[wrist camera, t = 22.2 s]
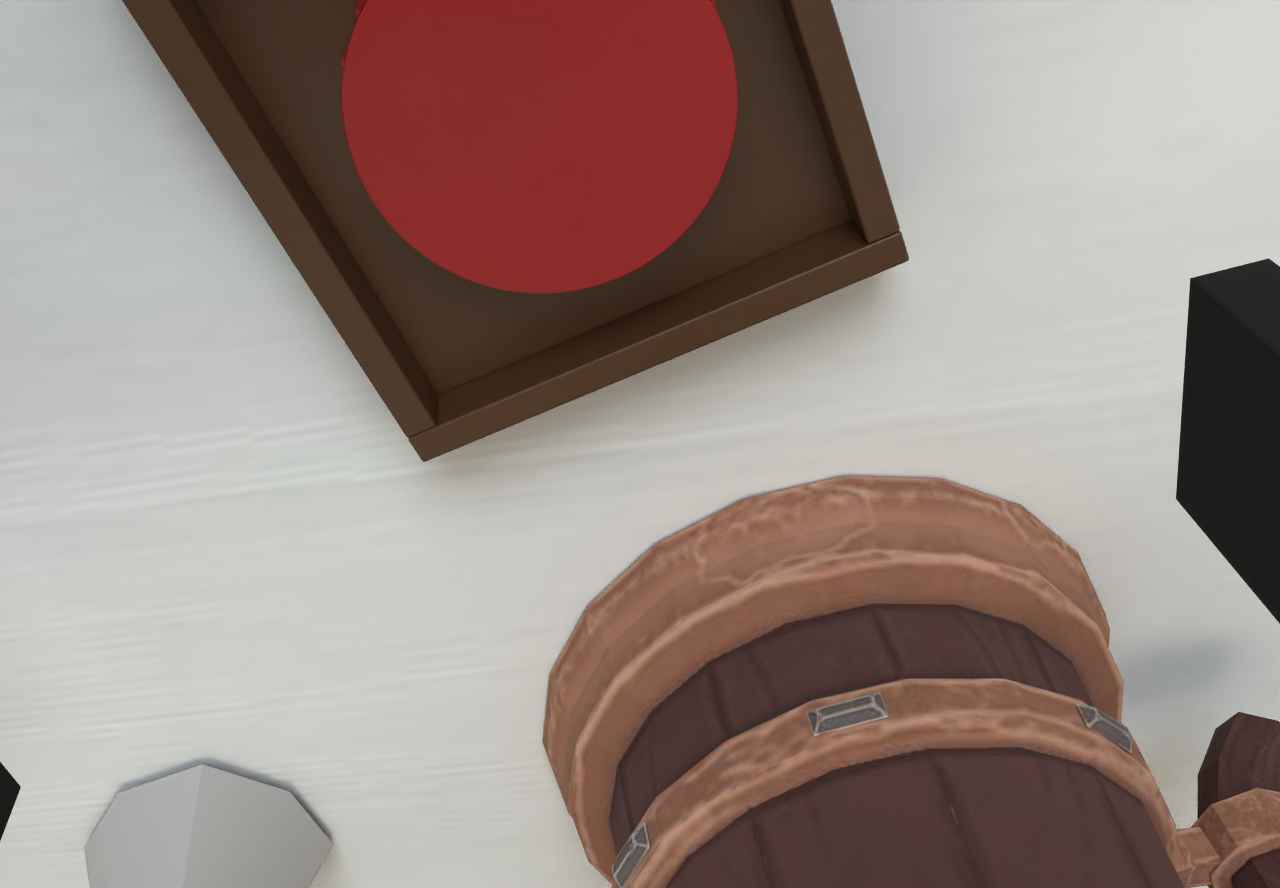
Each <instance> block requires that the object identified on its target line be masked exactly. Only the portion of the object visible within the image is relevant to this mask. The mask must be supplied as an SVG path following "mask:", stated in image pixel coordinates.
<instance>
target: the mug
mask: <svg viewBox="0 0 1280 888" xmlns="http://www.w3.org/2000/svg"><path fill="white" fill-rule="evenodd" d="M1109 632H1110V628H1109V625H1108V621H1107V618H1106V615H1105V612H1104V610H1103V608H1102V605H1101V603H1100V601H1099V599H1098V596H1097V594H1096V592H1095V590H1094V588H1093V585H1092V583H1091V581H1090V579H1089V576H1088V574H1087V572H1086V570H1085V567H1084V565H1083V563H1082V561H1081V558H1080V556H1079V554H1078V553H1077V552H1076V551H1075V550H1074V549H1072V548H1071V547H1070V546H1069V545H1068V544H1067V543H1065V542H1064V541H1063V540H1062V539H1061V538H1059V537H1058V536H1057V535H1056V534H1055V533H1053V532H1052V531H1051V530H1050V529H1049V528H1047V527H1046V526H1045V525H1044V524H1043V523H1042V522H1040V521H1039V520H1038V519H1037V518H1036V517H1034V516H1033V515H1032V514H1031V513H1030V512H1028V511H1027V510H1026V509H1025V508H1024V507H1022V506H1020V505H1017V504H1014V503H1011V502H1008V501H1005V500H1002V499H999V498H996V497H993V496H990V495H987V494H984V493H981V492H978V491H975V490H972V489H969V488H966V487H963V486H960V485H957V484H954V483H952V482H949V481H946V480H943V479H922V478H887V477H851V476H843V477H838V478H834V479H830V480H826V481H821V482H817V483H813V484H808V485H804V486H800V487H795V488H791V489H787V490H783V491H778V492H774V493H770V494H765V495H761V496H757V497H752V498H748V499H744V500H741V501H739V502H738V503H736V504H734V505H732V506H730V507H728V508H726V509H724V510H722V511H720V512H718V513H716V514H714V515H712V516H710V517H708V518H706V519H705V520H703V521H701V522H699V523H697V524H695V525H693V526H691V527H689V528H687V529H685V530H683V531H681V532H679V533H677V534H675V535H673V536H672V537H670V538H668V539H666V540H664V541H662V542H660V543H658V544H656V545H654V546H653V547H652V548H651V549H649V550H648V551H647V552H646V553H645V554H644V555H643V556H642V557H641V558H640V559H639V560H638V561H636V562H635V563H634V564H633V565H632V566H631V567H630V568H629V569H628V570H627V571H626V572H624V573H623V574H622V575H621V576H620V577H619V578H618V579H617V580H616V581H615V582H614V583H613V584H611V585H610V586H609V587H608V588H607V589H606V590H605V591H604V592H603V593H602V594H601V595H600V596H598V597H597V598H596V599H595V600H594V601H593V602H592V603H591V604H590V605H589V606H588V607H587V608H586V609H585V611H584V613H583V615H582V617H581V619H580V620H579V622H578V624H577V626H576V628H575V629H574V631H573V633H572V635H571V637H570V639H569V640H568V642H567V644H566V646H565V648H564V649H563V651H562V653H561V655H560V657H559V659H558V660H557V662H556V664H555V666H554V668H553V670H552V671H551V673H550V675H549V683H548V693H547V702H546V712H545V722H544V732H543V744H544V747H545V750H546V753H547V756H548V758H549V761H550V764H551V766H552V769H553V772H554V775H555V777H556V780H557V783H558V786H559V788H560V791H561V794H562V796H563V799H564V802H565V805H566V807H567V810H568V813H569V815H570V816H571V817H572V818H573V820H574V823H575V825H576V828H577V831H578V834H579V836H580V839H581V842H582V845H583V847H584V850H585V853H586V856H587V858H588V861H589V862H590V863H591V864H592V865H593V866H594V867H595V868H596V869H597V870H598V871H599V872H600V873H601V874H602V875H603V876H604V877H605V878H606V879H607V880H608V881H609V882H610V883H611V884H612V888H1190V887H1197V886H1205V885H1208V887H1209V888H1280V722H1279V721H1276V720H1272V719H1267V718H1263V717H1258V716H1254V715H1250V714H1245V713H1241V712H1238V713H1237V714H1235V715H1234V716H1233V717H1231V718H1230V719H1228V720H1227V721H1226V722H1224V723H1223V724H1222V725H1220V726H1219V727H1218V728H1216V730H1215V732H1214V735H1213V737H1212V740H1211V743H1210V745H1209V748H1208V750H1207V753H1206V755H1205V758H1204V760H1203V763H1202V766H1201V768H1200V771H1199V773H1198V820H1197V821H1196V822H1195V823H1194V824H1193V825H1192V827H1191V828H1185V829H1177V830H1176V824H1175V822H1174V820H1173V818H1172V816H1171V814H1170V812H1169V810H1168V807H1167V805H1166V803H1165V801H1164V799H1163V797H1162V795H1161V792H1160V790H1159V788H1158V786H1157V784H1156V782H1155V780H1154V778H1153V775H1152V774H1151V772H1150V770H1149V768H1148V766H1147V764H1146V762H1145V760H1144V758H1143V756H1142V754H1141V752H1140V750H1139V749H1138V747H1137V745H1136V743H1135V741H1134V739H1133V738H1132V735H1131V733H1130V732H1129V730H1128V728H1127V727H1126V726H1124V725H1123V724H1121V713H1122V695H1123V679H1122V677H1121V675H1120V673H1119V670H1118V668H1117V666H1116V664H1115V662H1114V659H1113V657H1112V655H1111V653H1110V651H1109Z"/></svg>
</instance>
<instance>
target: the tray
mask: <svg viewBox="0 0 1280 888" xmlns="http://www.w3.org/2000/svg"><path fill="white" fill-rule="evenodd" d="M122 1H123V2H124V4H125V5H126V7H127V8H128V10H129V11H130V13H131V14H132V16H133V18H134V19H135V21H136V22H137V24H138V25H139V27H140V28H141V30H142V31H143V33H144V34H145V36H146V37H147V39H148V41H149V42H150V44H151V45H152V47H153V48H154V50H155V51H156V53H157V54H158V56H159V57H160V59H161V60H162V62H163V64H164V65H165V67H166V68H167V70H168V71H169V73H170V74H171V76H172V77H173V79H174V80H175V82H176V84H177V85H178V87H179V88H180V90H181V91H182V93H183V94H184V96H185V97H186V99H187V100H188V102H189V103H190V105H191V107H192V108H193V110H194V111H195V113H196V114H197V116H198V117H199V119H200V120H201V122H202V123H203V125H204V126H205V128H206V130H207V131H208V133H209V134H210V136H211V137H212V139H213V140H214V142H215V143H216V145H217V146H218V148H219V150H220V151H221V153H222V154H223V156H224V157H225V159H226V160H227V162H228V163H229V165H230V166H231V168H232V169H233V171H234V173H235V174H236V176H237V177H238V179H239V180H240V182H241V183H242V185H243V186H244V188H245V189H246V191H247V192H248V194H249V196H250V197H251V199H252V200H253V202H254V203H255V205H256V206H257V208H258V209H259V211H260V212H261V214H262V216H263V217H264V219H265V220H266V222H267V223H268V225H269V226H270V228H271V229H272V231H273V232H274V234H275V235H276V237H277V239H278V240H279V242H280V243H281V245H282V246H283V248H284V249H285V251H286V252H287V254H288V255H289V257H290V259H291V260H292V262H293V263H294V265H295V266H296V268H297V269H298V271H299V272H300V274H301V275H302V277H303V278H304V280H305V282H306V283H307V285H308V286H309V288H310V289H311V291H312V292H313V294H314V295H315V297H316V298H317V300H318V301H319V303H320V305H321V306H322V308H323V309H324V311H325V312H326V314H327V315H328V317H329V318H330V320H331V321H332V323H333V325H334V326H335V328H336V329H337V331H338V332H339V334H340V335H341V337H342V338H343V340H344V341H345V343H346V344H347V346H348V348H349V349H350V351H351V352H352V354H353V355H354V357H355V358H356V360H357V361H358V363H359V364H360V366H361V367H362V369H363V371H364V372H365V374H366V375H367V377H368V378H369V380H370V381H371V383H372V384H373V386H374V387H375V389H376V391H377V392H378V394H379V395H380V397H381V398H382V400H383V401H384V403H385V404H386V406H387V407H388V409H389V410H390V412H391V414H392V415H393V417H394V418H395V420H396V421H397V423H398V424H399V426H400V427H401V429H402V430H403V432H404V433H405V435H406V436H407V437H408V439H409V441H410V443H411V444H412V446H413V447H414V449H415V450H416V452H417V454H418V455H419V457H420V458H421V460H422V461H423V462H425V461H428V460H430V459H433V458H435V457H437V456H440V455H442V454H445V453H447V452H449V451H452V450H454V449H457V448H459V447H461V446H464V445H466V444H469V443H471V442H474V441H476V440H478V439H481V438H483V437H486V436H488V435H490V434H493V433H495V432H498V431H500V430H502V429H505V428H507V427H510V426H512V425H514V424H517V423H519V422H522V421H524V420H526V419H529V418H531V417H534V416H536V415H538V414H541V413H543V412H546V411H548V410H550V409H553V408H555V407H558V406H560V405H562V404H565V403H567V402H570V401H572V400H574V399H577V398H579V397H582V396H584V395H586V394H589V393H591V392H594V391H596V390H599V389H601V388H603V387H606V386H608V385H611V384H613V383H615V382H618V381H620V380H623V379H625V378H627V377H630V376H632V375H635V374H637V373H639V372H642V371H644V370H647V369H649V368H651V367H654V366H656V365H659V364H661V363H663V362H666V361H668V360H671V359H673V358H675V357H678V356H680V355H683V354H685V353H687V352H690V351H692V350H695V349H697V348H699V347H702V346H704V345H707V344H709V343H711V342H714V341H716V340H719V339H721V338H723V337H726V336H728V335H731V334H733V333H736V332H738V331H740V330H743V329H745V328H748V327H750V326H752V325H755V324H757V323H760V322H762V321H764V320H767V319H769V318H772V317H774V316H776V315H779V314H781V313H784V312H786V311H788V310H791V309H793V308H796V307H798V306H800V305H803V304H805V303H808V302H810V301H812V300H815V299H817V298H820V297H822V296H824V295H827V294H829V293H832V292H834V291H836V290H839V289H841V288H844V287H846V286H848V285H851V284H853V283H856V282H858V281H861V280H863V279H865V278H868V277H870V276H873V275H875V274H877V273H880V272H882V271H885V270H887V269H889V268H892V267H894V266H897V265H899V264H901V263H904V262H906V261H908V260H909V256H908V253H907V250H906V246H905V243H904V240H903V237H902V233H901V232H900V230H899V224H898V221H897V217H896V214H895V211H894V207H893V204H892V201H891V197H890V194H889V191H888V187H887V184H886V181H885V177H884V174H883V171H882V168H881V164H880V161H879V158H878V154H877V151H876V148H875V144H874V141H873V138H872V134H871V131H870V128H869V125H868V121H867V118H866V115H865V111H864V108H863V105H862V101H861V98H860V95H859V91H858V88H857V85H856V81H855V78H854V75H853V72H852V68H851V65H850V62H849V58H848V55H847V52H846V48H845V45H844V42H843V38H842V35H841V32H840V28H839V25H838V22H837V19H836V15H835V12H834V9H833V5H832V2H831V0H715V1H716V3H717V4H716V5H715V6H714V7H715V8H716V10H717V13H718V15H719V17H720V19H721V22H722V24H723V26H724V29H725V31H726V33H727V36H728V40H729V43H730V45H731V47H732V48H733V51H734V54H733V57H734V63H735V70H736V76H737V83H738V114H737V122H736V131H735V137H734V141H733V145H732V149H731V153H730V157H729V160H728V162H727V165H726V167H725V170H724V173H723V175H722V178H721V180H720V182H719V184H718V186H717V188H716V190H715V192H714V193H713V195H712V197H711V199H710V201H709V202H708V204H707V205H706V207H705V208H704V209H703V211H702V212H701V214H700V215H699V216H698V218H697V219H696V221H695V222H694V223H693V224H692V225H691V226H690V227H689V228H688V229H687V231H686V232H685V233H684V234H683V235H682V236H681V237H680V238H679V239H678V240H677V241H676V242H675V243H673V244H672V245H671V246H670V247H669V248H668V249H666V250H665V251H664V252H663V253H662V254H660V255H659V256H657V257H656V258H654V259H653V260H651V261H650V262H648V263H647V264H645V265H644V266H642V267H641V268H639V269H637V270H635V271H633V272H631V273H629V274H627V275H625V276H623V277H621V278H618V279H616V280H613V281H610V282H607V283H604V284H602V285H599V286H595V287H591V288H587V289H582V290H578V291H572V292H563V293H554V294H528V293H520V292H512V291H504V290H500V289H496V288H492V287H488V286H484V285H481V284H478V283H475V282H473V281H470V280H467V279H465V278H462V277H460V276H457V275H456V274H454V273H452V272H450V271H448V270H446V269H444V268H442V267H440V266H438V265H437V264H435V263H434V262H432V261H431V260H429V259H428V258H427V257H425V256H424V255H422V254H421V253H419V252H418V251H417V250H415V249H414V248H413V247H412V246H411V245H410V244H409V243H408V242H406V241H405V240H404V239H403V238H402V237H401V236H400V235H399V234H398V233H397V232H396V231H395V230H394V229H393V228H392V226H391V225H390V224H389V223H388V222H387V221H386V220H385V218H384V217H383V216H382V215H381V213H380V212H379V210H378V209H377V207H376V206H375V204H374V203H373V201H372V200H371V198H370V197H369V196H368V194H367V192H366V190H365V188H364V186H363V184H362V182H361V180H360V178H359V176H358V174H357V172H356V169H355V166H354V163H353V160H352V157H351V154H350V152H349V149H348V144H347V139H346V135H345V130H344V125H343V118H341V111H342V101H341V93H342V77H343V68H344V66H341V60H342V57H343V54H344V50H345V47H346V44H349V41H350V37H351V34H352V31H353V28H354V25H355V22H356V19H357V16H358V15H357V14H355V10H356V7H357V4H358V1H359V0H122Z"/></svg>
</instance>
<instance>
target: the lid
mask: <svg viewBox="0 0 1280 888" xmlns="http://www.w3.org/2000/svg"><path fill="white" fill-rule="evenodd" d="M716 4H717V3H716V1H715V0H359V1H358V4H357V7H356V10H355V14H357V15H358V16H357V19H356V22H355V25H354V28H353V31H352V34H351V37H350V41H349V44H346V47H345V50H344V54H343V57H342V60H341V66H344V68H343V77H342V93H341V101H342V111H341V118H343V125H344V130H345V135H346V139H347V144H348V149H349V152H350V154H351V157H352V160H353V163H354V166H355V169H356V172H357V174H358V176H359V178H360V180H361V182H362V184H363V186H364V188H365V190H366V192H367V194H368V196H369V197H370V198H371V200H372V201H373V203H374V204H375V206H376V207H377V209H378V210H379V212H380V213H381V215H382V216H383V217H384V218H385V220H386V221H387V222H388V223H389V224H390V225H391V226H392V228H393V229H394V230H395V231H396V232H397V233H398V234H399V235H400V236H401V237H402V238H403V239H404V240H405V241H406V242H408V243H409V244H410V245H411V246H412V247H413V248H414V249H415V250H417V251H418V252H419V253H421V254H422V255H424V256H425V257H427V258H428V259H429V260H431V261H432V262H434V263H435V264H437V265H438V266H440V267H442V268H444V269H446V270H448V271H450V272H452V273H454V274H456V275H457V276H460V277H462V278H465V279H467V280H470V281H473V282H475V283H478V284H481V285H484V286H488V287H492V288H496V289H500V290H504V291H512V292H520V293H528V294H554V293H563V292H572V291H578V290H582V289H587V288H591V287H595V286H599V285H602V284H604V283H607V282H610V281H613V280H616V279H618V278H621V277H623V276H625V275H627V274H629V273H631V272H633V271H635V270H637V269H639V268H641V267H642V266H644V265H645V264H647V263H648V262H650V261H651V260H653V259H654V258H656V257H657V256H659V255H660V254H662V253H663V252H664V251H665V250H666V249H668V248H669V247H670V246H671V245H672V244H673V243H675V242H676V241H677V240H678V239H679V238H680V237H681V236H682V235H683V234H684V233H685V232H686V231H687V229H688V228H689V227H690V226H691V225H692V224H693V223H694V222H695V221H696V219H697V218H698V216H699V215H700V214H701V212H702V211H703V209H704V208H705V207H706V205H707V204H708V202H709V201H710V199H711V197H712V195H713V193H714V192H715V190H716V188H717V186H718V184H719V182H720V180H721V178H722V175H723V173H724V170H725V167H726V165H727V162H728V160H729V157H730V153H731V149H732V145H733V141H734V137H735V131H736V122H737V114H738V83H737V76H736V70H735V63H734V57H733V54H734V51H733V48H732V47H731V45H730V43H729V40H728V36H727V33H726V31H725V29H724V26H723V24H722V22H721V19H720V17H719V15H718V13H717V10H716V8H715V7H714V6H715V5H716Z"/></svg>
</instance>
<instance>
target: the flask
mask: <svg viewBox="0 0 1280 888" xmlns="http://www.w3.org/2000/svg"><path fill="white" fill-rule="evenodd" d="M332 844H333V843H332V842H331V841H330V840H329V838H328V837H327V836H326V835H325V834H324V832H323V831H322V830H321V829H320V827H319V826H318V825H317V824H316V823H315V821H314V820H313V819H312V818H311V816H310V815H309V814H308V813H307V812H306V810H305V809H304V808H303V807H302V806H301V804H300V803H299V802H298V801H297V799H296V798H295V797H294V796H293V795H292V793H291V792H289V791H286V790H283V789H280V788H277V787H274V786H270V785H267V784H264V783H261V782H258V781H254V780H251V779H248V778H245V777H242V776H239V775H235V774H232V773H229V772H226V771H223V770H219V769H216V768H213V767H210V766H207V765H203V764H201V765H198V766H195V767H192V768H190V769H187V770H184V771H181V772H178V773H175V774H172V775H169V776H166V777H163V778H160V779H157V780H154V781H151V782H148V783H146V784H143V785H140V786H137V787H134V788H131V789H128V790H125V791H122V792H119V793H118V794H117V796H116V797H115V799H114V800H113V802H112V804H111V805H110V807H109V809H108V810H107V812H106V813H105V815H104V817H103V818H102V820H101V821H100V823H99V825H98V826H97V828H96V829H95V831H94V833H93V834H92V836H91V837H90V839H89V841H88V842H87V844H86V846H85V855H86V864H87V872H88V878H89V884H90V888H308V887H309V885H310V884H311V882H312V880H313V879H314V877H315V875H316V873H317V872H318V870H319V868H320V866H321V865H322V863H323V861H324V859H325V857H326V855H327V854H328V852H329V850H330V848H331V846H332Z"/></svg>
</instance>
